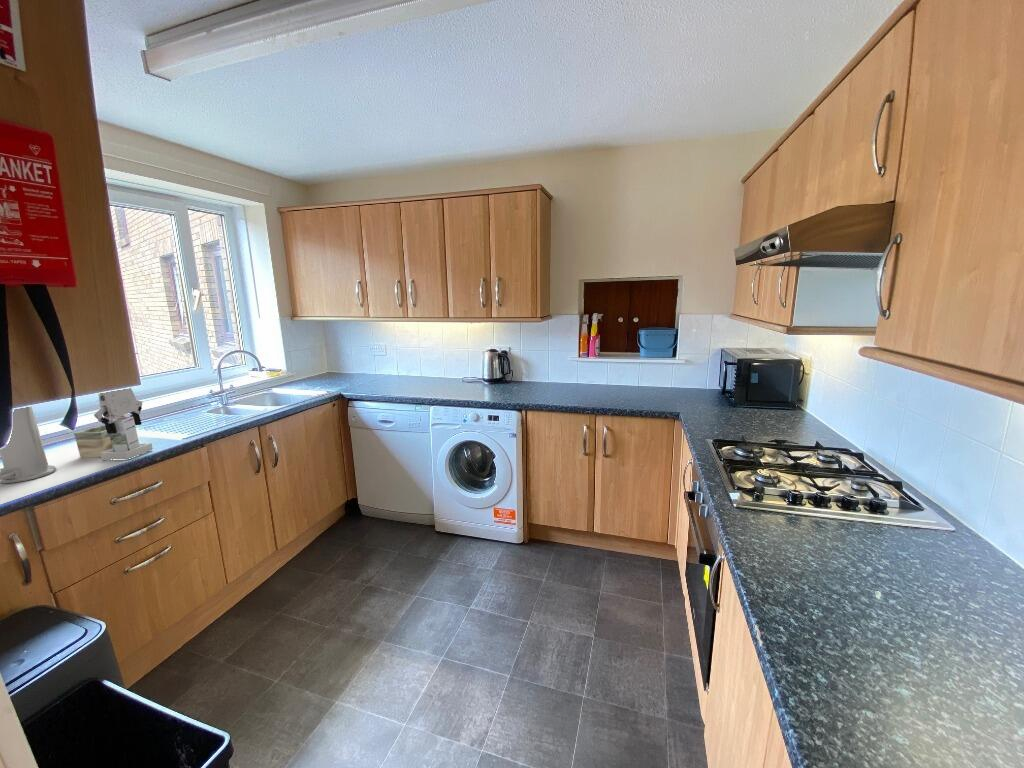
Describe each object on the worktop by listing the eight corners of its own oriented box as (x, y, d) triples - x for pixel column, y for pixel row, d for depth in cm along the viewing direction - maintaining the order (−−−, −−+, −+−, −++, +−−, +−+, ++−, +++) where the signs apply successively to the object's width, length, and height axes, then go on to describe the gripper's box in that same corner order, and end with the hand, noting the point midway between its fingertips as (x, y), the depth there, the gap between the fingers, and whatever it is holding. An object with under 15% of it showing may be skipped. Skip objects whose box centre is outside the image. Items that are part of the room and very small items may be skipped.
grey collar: (128, 460, 154) (126, 452, 153) (102, 460, 155) (100, 452, 154) (153, 450, 164) (151, 443, 163) (128, 450, 165) (127, 443, 164)
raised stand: (104, 457, 159) (98, 432, 157) (80, 457, 159) (74, 433, 157) (130, 447, 168) (124, 424, 166) (106, 448, 169) (101, 425, 167)
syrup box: (142, 451, 163) (134, 415, 160) (131, 457, 157) (122, 419, 154) (125, 453, 162) (117, 416, 159) (114, 458, 156) (105, 421, 153)
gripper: (98, 389, 146) (111, 436, 149) (144, 379, 162) (155, 421, 166) (78, 390, 146) (92, 437, 150) (126, 380, 163) (137, 422, 167)
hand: (125, 429), depth 158 cm, fingers open, 9 cm apart
